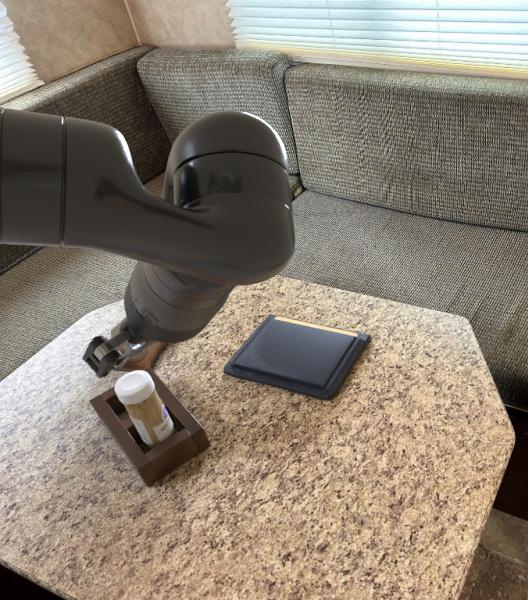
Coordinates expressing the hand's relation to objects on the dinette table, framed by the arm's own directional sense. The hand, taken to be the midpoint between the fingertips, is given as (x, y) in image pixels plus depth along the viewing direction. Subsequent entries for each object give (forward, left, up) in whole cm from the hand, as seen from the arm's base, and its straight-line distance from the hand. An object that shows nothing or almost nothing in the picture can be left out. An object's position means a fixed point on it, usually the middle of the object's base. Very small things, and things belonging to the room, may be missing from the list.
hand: (147, 338), depth 64 cm
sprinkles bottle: (-2, +11, -27) cm, 29 cm away
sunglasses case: (+8, +35, -27) cm, 45 cm away
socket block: (-2, +15, -27) cm, 31 cm away
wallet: (+22, +12, -27) cm, 37 cm away
